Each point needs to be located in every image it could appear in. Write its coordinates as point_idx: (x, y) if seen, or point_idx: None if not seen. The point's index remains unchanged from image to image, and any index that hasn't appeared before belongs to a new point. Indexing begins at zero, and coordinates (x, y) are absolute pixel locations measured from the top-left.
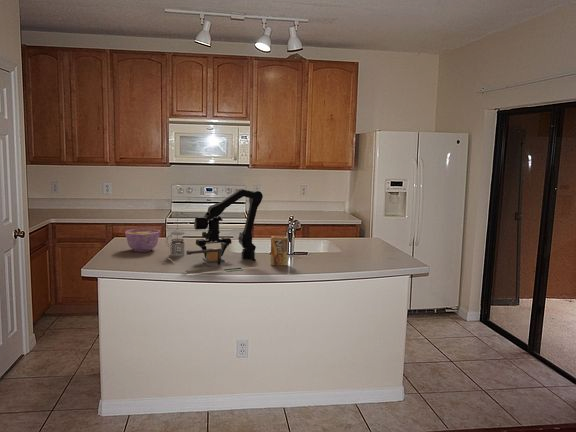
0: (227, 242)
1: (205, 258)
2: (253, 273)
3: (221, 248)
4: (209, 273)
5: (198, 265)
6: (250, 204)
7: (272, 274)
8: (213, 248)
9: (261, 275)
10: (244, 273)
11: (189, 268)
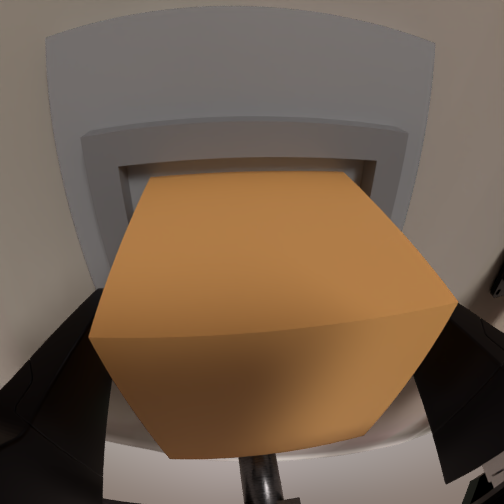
0: (486, 492)
1: (132, 162)
2: (335, 446)
3: (469, 360)
4: (141, 440)
5: (52, 312)
6: None
7: (378, 444)
8: (364, 320)
9: (341, 454)
10: (304, 449)
11: (8, 355)
